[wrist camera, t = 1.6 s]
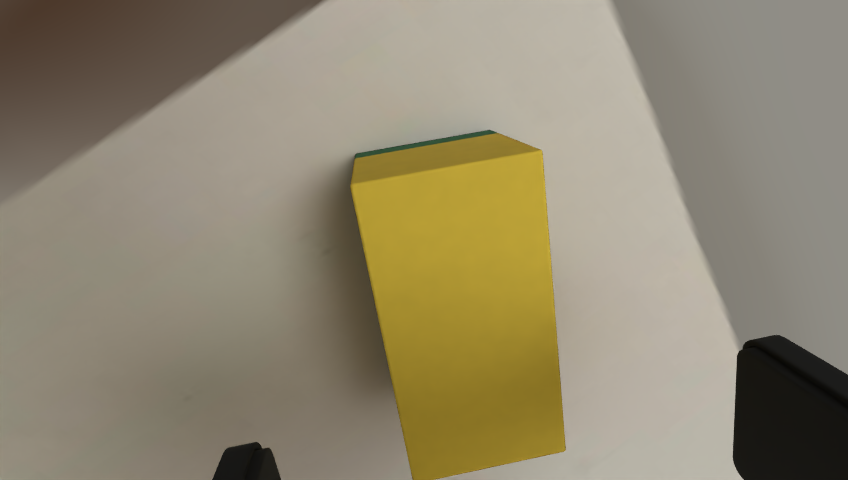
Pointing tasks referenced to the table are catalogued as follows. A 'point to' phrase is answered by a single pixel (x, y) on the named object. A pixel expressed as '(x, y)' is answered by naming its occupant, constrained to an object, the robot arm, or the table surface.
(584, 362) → the table surface
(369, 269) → the sponge
